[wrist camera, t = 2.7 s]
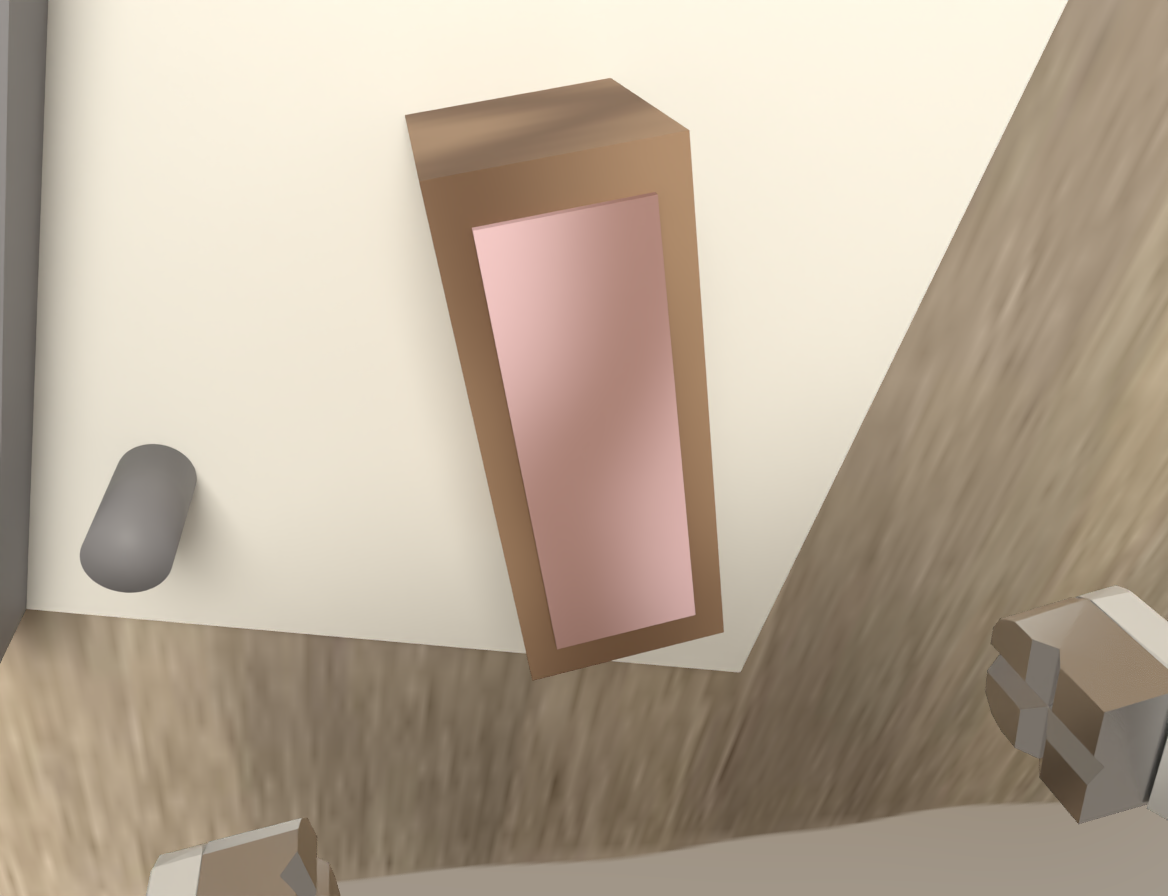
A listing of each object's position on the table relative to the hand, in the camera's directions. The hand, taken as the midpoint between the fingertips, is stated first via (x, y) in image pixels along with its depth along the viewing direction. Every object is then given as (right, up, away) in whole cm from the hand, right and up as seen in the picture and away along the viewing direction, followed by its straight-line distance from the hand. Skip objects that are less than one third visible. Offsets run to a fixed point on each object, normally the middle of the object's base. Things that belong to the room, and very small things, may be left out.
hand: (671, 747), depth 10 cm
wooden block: (-2, +6, +10) cm, 11 cm away
